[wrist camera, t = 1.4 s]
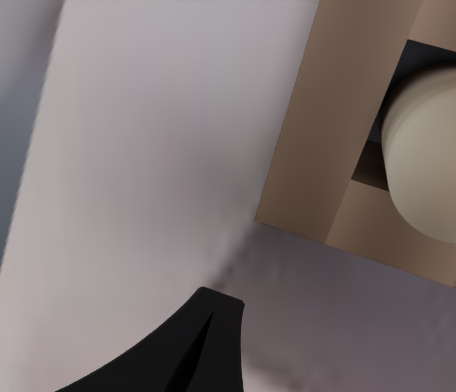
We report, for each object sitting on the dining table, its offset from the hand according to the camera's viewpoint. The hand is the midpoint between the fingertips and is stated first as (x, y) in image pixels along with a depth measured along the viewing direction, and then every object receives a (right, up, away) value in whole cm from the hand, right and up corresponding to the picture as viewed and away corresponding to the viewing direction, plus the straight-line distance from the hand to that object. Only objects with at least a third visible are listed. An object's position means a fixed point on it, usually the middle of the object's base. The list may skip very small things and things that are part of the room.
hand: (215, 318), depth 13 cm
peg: (+8, +6, +2) cm, 10 cm away
